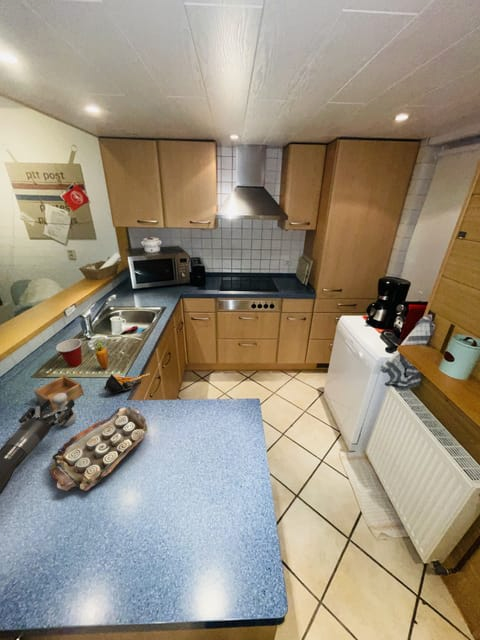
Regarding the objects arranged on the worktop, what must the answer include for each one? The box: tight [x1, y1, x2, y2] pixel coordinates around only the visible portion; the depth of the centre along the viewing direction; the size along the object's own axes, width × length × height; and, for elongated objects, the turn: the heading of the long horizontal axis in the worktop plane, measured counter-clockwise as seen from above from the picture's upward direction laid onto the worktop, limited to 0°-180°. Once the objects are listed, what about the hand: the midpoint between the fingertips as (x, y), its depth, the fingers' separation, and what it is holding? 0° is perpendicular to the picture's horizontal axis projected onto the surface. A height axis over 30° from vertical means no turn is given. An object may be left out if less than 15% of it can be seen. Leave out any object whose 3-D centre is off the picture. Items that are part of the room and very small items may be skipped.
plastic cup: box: [55, 338, 83, 368], centre depth 125 cm, size 11×11×12 cm
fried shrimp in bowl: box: [104, 372, 151, 395], centre depth 111 cm, size 9×11×18 cm
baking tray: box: [49, 406, 149, 492], centre depth 83 cm, size 30×22×5 cm
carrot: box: [93, 341, 109, 370], centre depth 121 cm, size 5×5×15 cm
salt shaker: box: [52, 393, 77, 427], centre depth 92 cm, size 6×6×13 cm
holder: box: [33, 375, 85, 412], centre depth 105 cm, size 12×12×6 cm
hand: (60, 401), depth 90 cm, fingers open, 8 cm apart
